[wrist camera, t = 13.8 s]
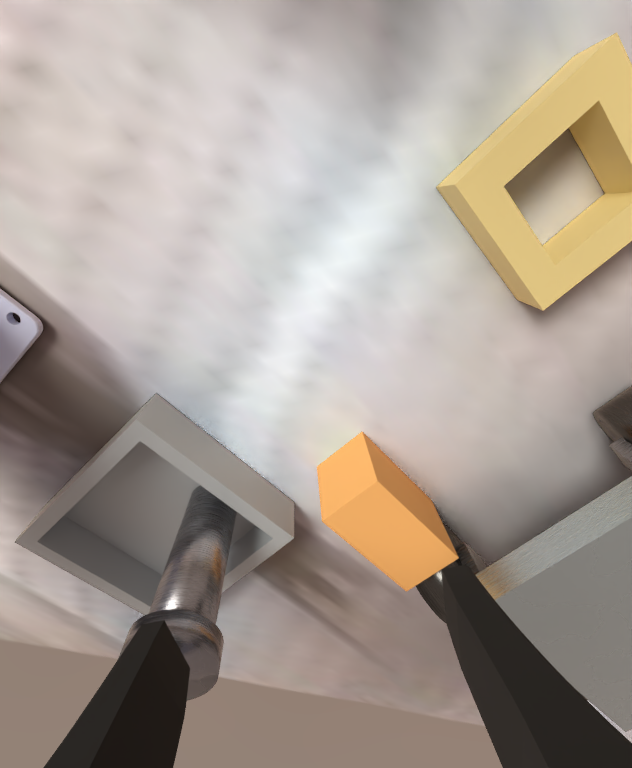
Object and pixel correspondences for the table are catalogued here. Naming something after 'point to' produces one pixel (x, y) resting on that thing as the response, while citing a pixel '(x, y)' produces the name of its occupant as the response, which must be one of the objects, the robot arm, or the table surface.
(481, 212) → the socket block
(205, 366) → the table surface
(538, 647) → the toy wheeled cart
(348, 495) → the block
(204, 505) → the pin
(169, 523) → the tray
